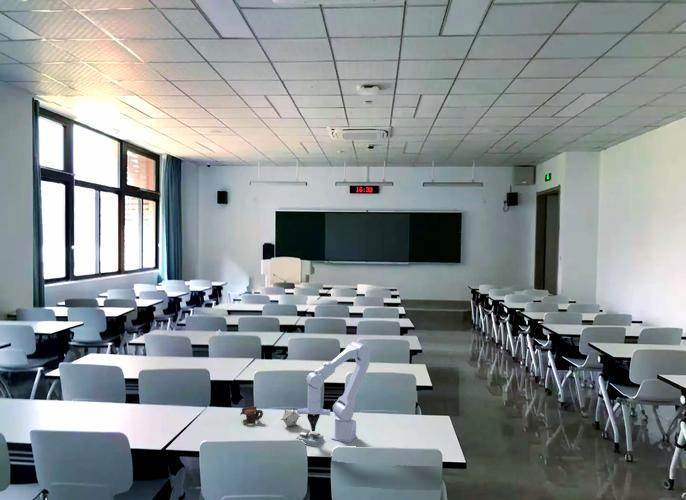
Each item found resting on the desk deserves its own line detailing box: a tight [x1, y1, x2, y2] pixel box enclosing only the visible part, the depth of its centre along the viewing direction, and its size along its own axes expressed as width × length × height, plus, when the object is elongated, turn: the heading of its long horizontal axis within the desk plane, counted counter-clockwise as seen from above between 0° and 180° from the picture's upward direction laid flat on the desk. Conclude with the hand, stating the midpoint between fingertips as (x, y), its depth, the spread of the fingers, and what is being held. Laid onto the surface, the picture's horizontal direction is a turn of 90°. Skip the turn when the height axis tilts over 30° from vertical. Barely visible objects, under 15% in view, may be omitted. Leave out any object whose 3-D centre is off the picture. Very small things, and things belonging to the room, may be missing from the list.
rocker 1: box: [299, 428, 311, 437], centre depth 217 cm, size 3×4×1 cm
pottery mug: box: [239, 406, 264, 425], centre depth 238 cm, size 12×10×8 cm
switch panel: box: [295, 432, 324, 447], centre depth 216 cm, size 10×7×3 cm
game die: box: [280, 407, 301, 429], centre depth 233 cm, size 9×8×10 cm
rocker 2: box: [310, 432, 321, 437], centre depth 215 cm, size 3×4×1 cm
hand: (313, 430), depth 214 cm, fingers closed
